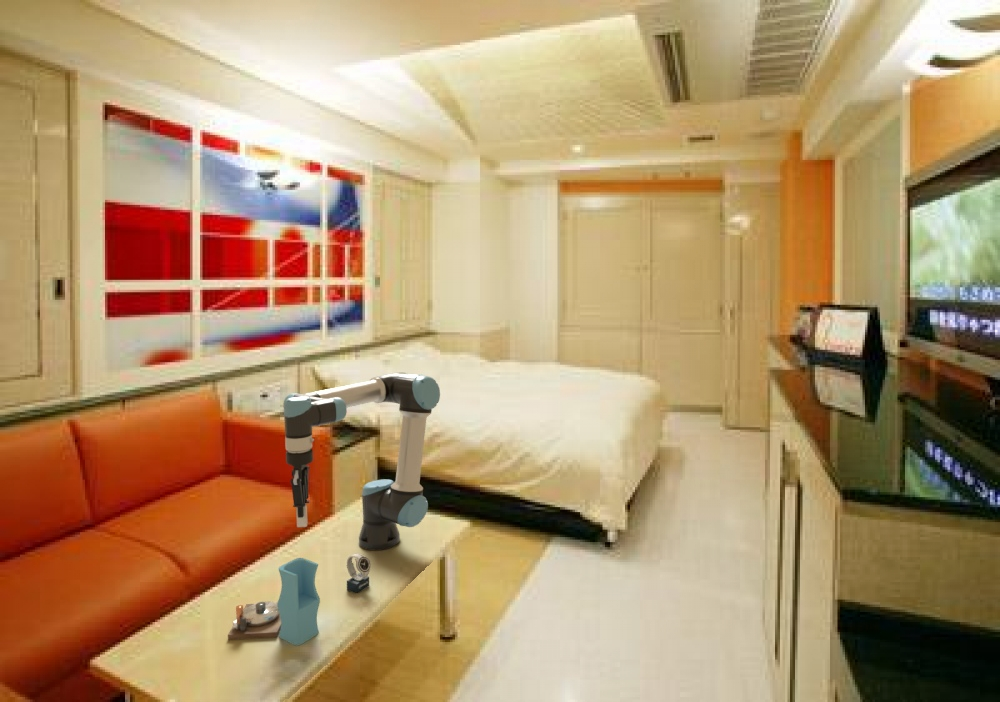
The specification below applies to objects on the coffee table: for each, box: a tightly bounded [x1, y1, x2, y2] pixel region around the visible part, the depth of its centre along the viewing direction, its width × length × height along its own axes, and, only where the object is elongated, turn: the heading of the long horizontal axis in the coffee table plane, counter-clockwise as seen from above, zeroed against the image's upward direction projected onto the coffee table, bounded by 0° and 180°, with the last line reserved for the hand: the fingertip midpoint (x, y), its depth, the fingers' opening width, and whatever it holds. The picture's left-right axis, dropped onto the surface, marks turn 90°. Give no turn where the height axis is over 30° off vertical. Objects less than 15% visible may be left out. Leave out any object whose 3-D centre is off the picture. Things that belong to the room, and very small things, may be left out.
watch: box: [346, 552, 372, 595], centre depth 181 cm, size 6×8×11 cm
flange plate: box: [232, 601, 280, 630], centre depth 161 cm, size 12×10×6 cm
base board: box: [227, 603, 281, 641], centre depth 163 cm, size 15×13×5 cm
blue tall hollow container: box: [276, 557, 321, 646], centre depth 156 cm, size 8×8×20 cm
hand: (302, 525), depth 170 cm, fingers closed
